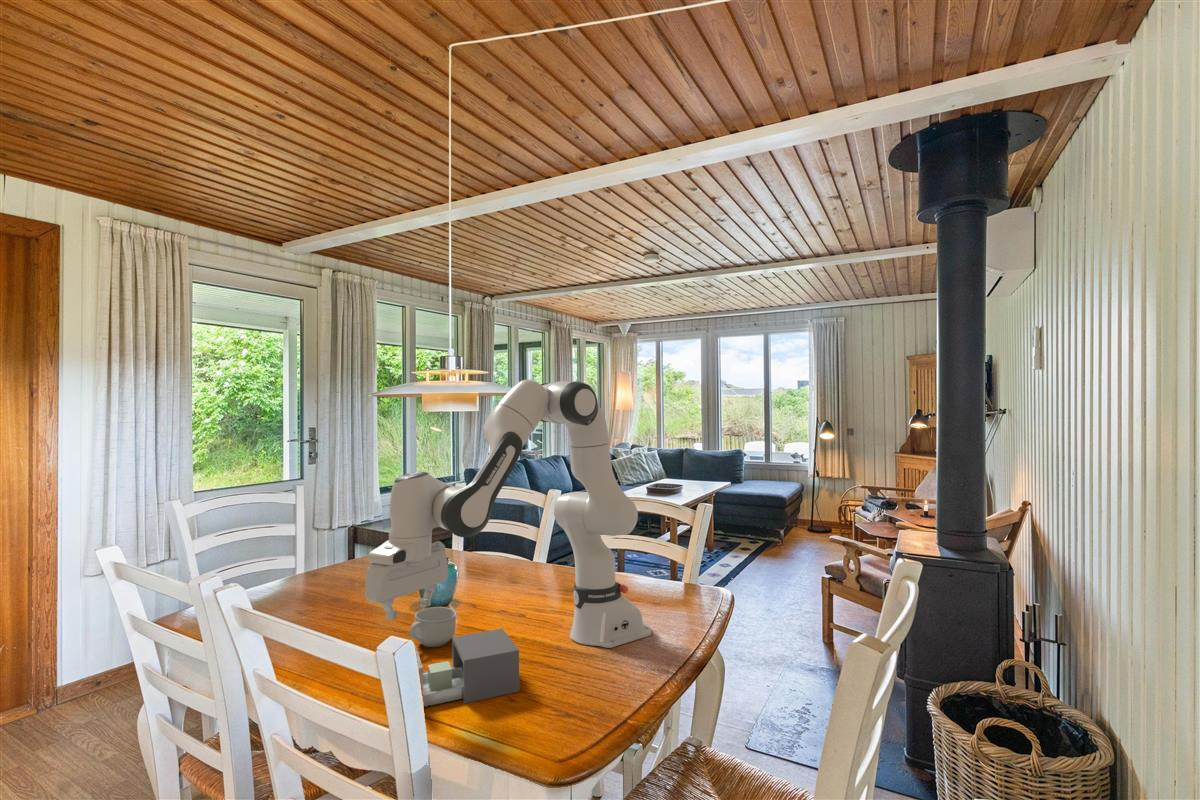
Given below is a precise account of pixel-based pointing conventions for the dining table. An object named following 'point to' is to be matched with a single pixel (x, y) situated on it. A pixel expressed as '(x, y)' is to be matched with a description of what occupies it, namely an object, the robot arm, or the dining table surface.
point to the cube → (439, 676)
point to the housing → (486, 664)
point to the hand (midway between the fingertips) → (408, 612)
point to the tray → (444, 694)
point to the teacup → (434, 626)
